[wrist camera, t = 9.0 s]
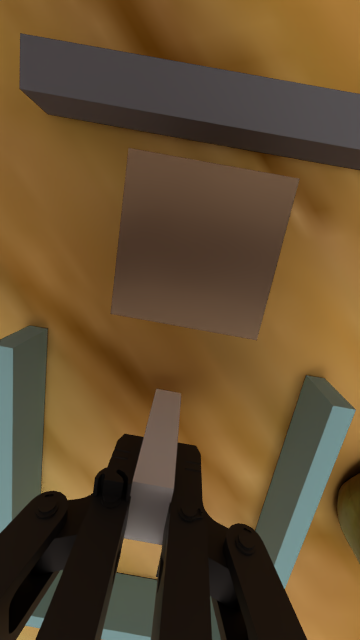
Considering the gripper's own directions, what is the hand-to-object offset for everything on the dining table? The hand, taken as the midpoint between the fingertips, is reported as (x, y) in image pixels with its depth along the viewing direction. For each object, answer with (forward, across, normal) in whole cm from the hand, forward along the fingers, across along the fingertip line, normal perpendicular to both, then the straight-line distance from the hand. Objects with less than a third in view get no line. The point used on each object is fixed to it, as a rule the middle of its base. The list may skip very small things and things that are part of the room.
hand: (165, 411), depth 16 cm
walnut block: (+2, 0, +9) cm, 10 cm away
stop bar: (+2, 0, +16) cm, 16 cm away
